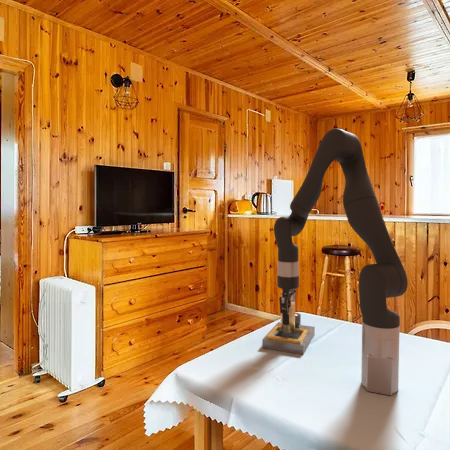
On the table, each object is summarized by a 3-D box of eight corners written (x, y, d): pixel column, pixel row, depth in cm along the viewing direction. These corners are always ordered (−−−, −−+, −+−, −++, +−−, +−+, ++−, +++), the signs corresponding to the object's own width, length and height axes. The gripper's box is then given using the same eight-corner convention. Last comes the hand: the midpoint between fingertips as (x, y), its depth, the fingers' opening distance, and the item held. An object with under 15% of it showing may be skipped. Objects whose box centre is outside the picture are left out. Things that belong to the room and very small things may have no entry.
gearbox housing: (303, 354, 119) (303, 330, 119) (262, 348, 125) (262, 325, 124) (314, 334, 137) (314, 313, 137) (278, 329, 143) (278, 309, 143)
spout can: (293, 333, 125) (293, 298, 124) (278, 331, 127) (278, 297, 126) (296, 328, 129) (296, 295, 129) (282, 327, 131) (282, 294, 131)
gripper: (293, 278, 119) (293, 330, 120) (303, 271, 132) (302, 317, 133) (271, 276, 122) (271, 327, 123) (282, 269, 135) (282, 315, 136)
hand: (287, 321), depth 128 cm, fingers closed on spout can, 5 cm apart
